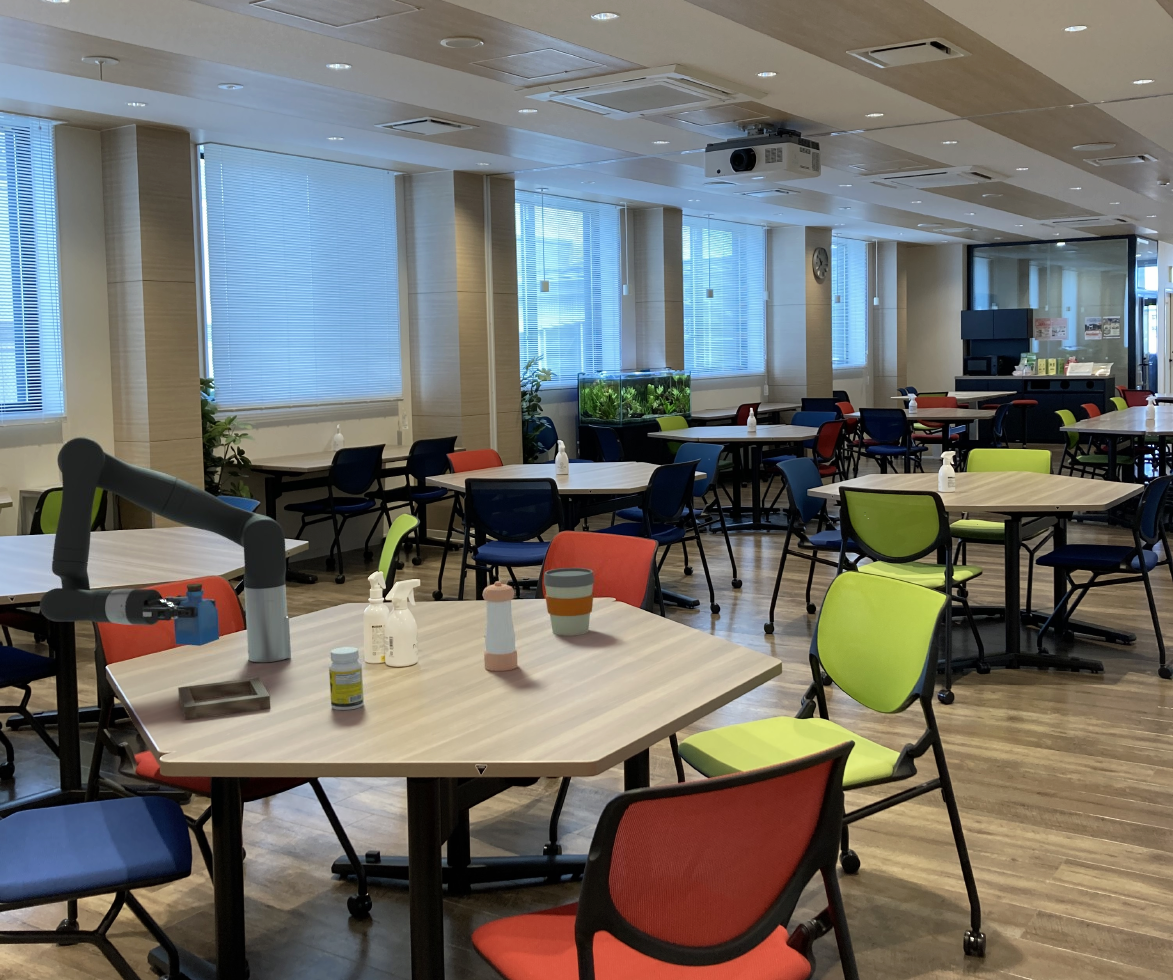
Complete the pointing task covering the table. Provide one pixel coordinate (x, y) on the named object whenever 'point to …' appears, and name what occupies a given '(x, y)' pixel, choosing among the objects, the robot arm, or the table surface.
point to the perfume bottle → (197, 620)
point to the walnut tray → (225, 706)
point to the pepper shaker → (499, 628)
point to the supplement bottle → (346, 679)
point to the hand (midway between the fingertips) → (205, 608)
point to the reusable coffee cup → (569, 599)
